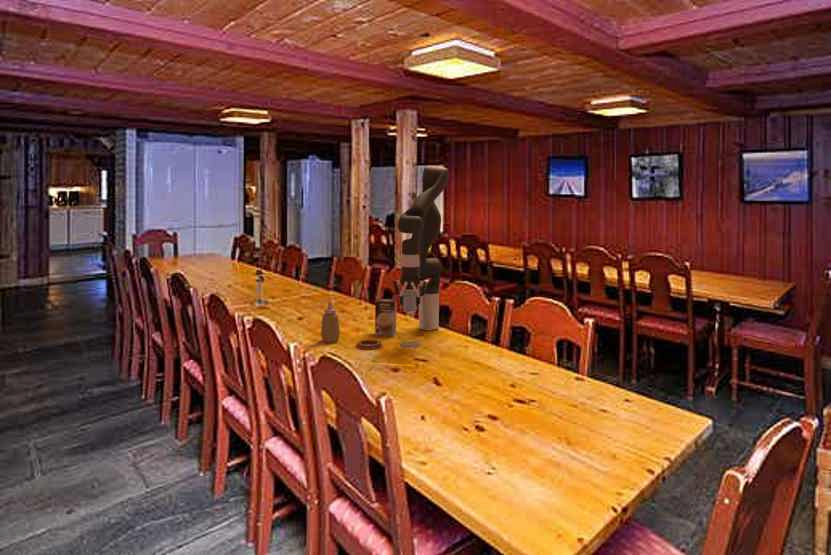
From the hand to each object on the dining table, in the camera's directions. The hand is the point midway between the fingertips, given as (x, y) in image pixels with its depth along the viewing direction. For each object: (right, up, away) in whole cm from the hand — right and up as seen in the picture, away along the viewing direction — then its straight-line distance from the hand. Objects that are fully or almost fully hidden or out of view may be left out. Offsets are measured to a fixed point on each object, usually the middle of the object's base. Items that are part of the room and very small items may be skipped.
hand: (410, 305), depth 229 cm
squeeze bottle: (-34, -16, +7) cm, 38 cm away
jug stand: (-17, -17, -1) cm, 24 cm away
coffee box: (-11, -15, +20) cm, 27 cm away
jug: (-1, -2, -2) cm, 3 cm away
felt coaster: (0, -17, +3) cm, 17 cm away
